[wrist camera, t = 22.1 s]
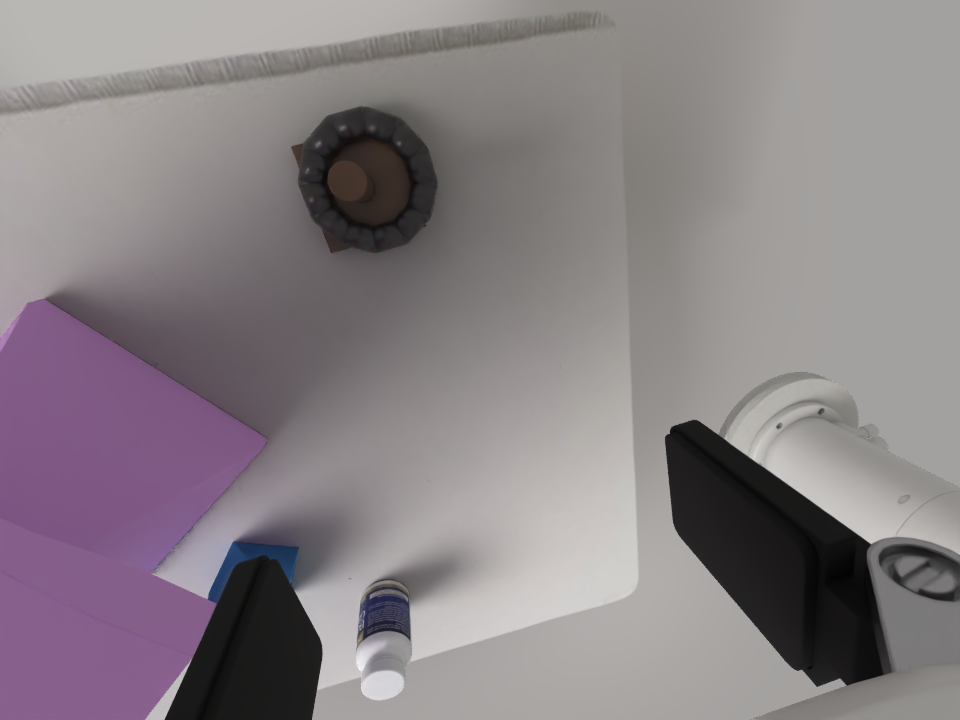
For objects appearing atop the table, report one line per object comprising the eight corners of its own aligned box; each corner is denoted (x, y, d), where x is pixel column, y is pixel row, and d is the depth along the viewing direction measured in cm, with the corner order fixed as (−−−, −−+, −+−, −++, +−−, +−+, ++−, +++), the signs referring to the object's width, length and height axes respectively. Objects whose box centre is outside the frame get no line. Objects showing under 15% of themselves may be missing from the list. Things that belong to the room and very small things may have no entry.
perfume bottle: (298, 547, 45) (267, 659, 34) (289, 594, 47) (257, 716, 36) (232, 542, 44) (178, 657, 33) (226, 590, 45) (171, 716, 34)
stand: (395, 121, 34) (396, 77, 22) (425, 225, 37) (441, 236, 25) (293, 147, 34) (237, 117, 22) (332, 251, 36) (302, 275, 24)
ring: (411, 95, 33) (412, 89, 31) (449, 229, 37) (452, 231, 35) (280, 131, 32) (273, 127, 30) (332, 264, 36) (329, 268, 34)
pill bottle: (356, 584, 48) (347, 672, 39) (405, 573, 49) (408, 658, 40) (365, 620, 50) (358, 712, 41) (412, 609, 51) (416, 697, 42)
